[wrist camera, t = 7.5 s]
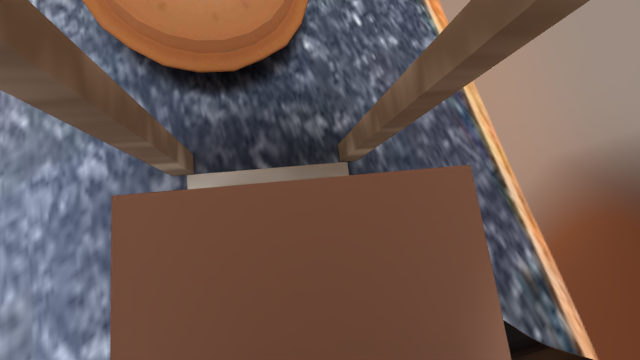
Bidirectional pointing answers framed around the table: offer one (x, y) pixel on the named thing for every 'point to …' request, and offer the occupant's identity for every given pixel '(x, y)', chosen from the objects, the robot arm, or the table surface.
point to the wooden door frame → (174, 159)
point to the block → (306, 271)
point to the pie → (201, 29)
